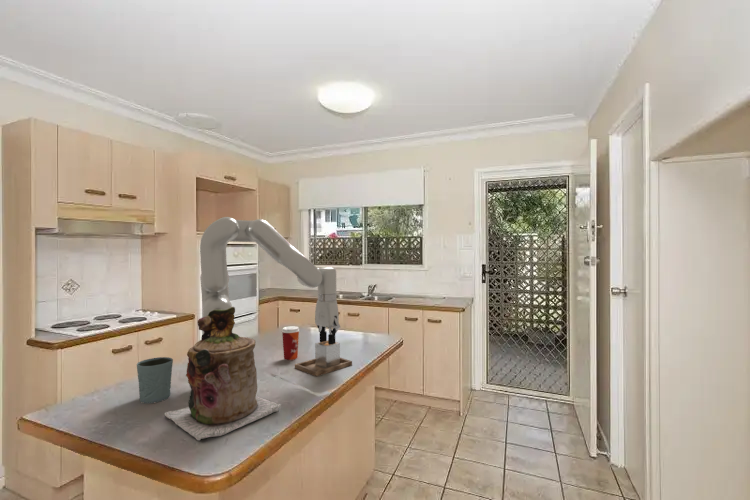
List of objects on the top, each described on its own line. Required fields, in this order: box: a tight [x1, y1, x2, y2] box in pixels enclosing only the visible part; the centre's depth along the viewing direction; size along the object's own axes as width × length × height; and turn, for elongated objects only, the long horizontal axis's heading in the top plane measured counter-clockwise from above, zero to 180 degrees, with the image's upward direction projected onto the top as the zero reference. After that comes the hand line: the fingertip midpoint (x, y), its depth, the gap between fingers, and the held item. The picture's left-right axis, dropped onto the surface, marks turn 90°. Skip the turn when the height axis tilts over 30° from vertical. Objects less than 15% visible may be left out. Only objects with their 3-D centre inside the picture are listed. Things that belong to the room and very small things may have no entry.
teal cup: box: [136, 356, 174, 404], centre depth 121 cm, size 10×10×12 cm
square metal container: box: [314, 339, 341, 369], centre depth 150 cm, size 7×7×9 cm
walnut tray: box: [294, 357, 353, 377], centre depth 148 cm, size 18×14×2 cm
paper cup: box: [281, 325, 300, 361], centre depth 160 cm, size 8×8×14 cm
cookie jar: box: [164, 306, 282, 441], centre depth 108 cm, size 25×25×32 cm
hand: (327, 342), depth 149 cm, fingers open, 4 cm apart
